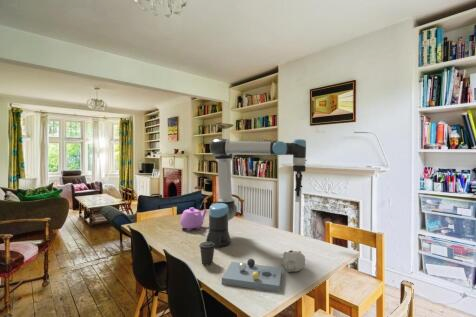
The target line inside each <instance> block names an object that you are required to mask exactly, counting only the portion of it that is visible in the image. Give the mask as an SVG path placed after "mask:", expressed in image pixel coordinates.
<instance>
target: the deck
mask: <svg viewBox="0 0 476 317" xmlns="http://www.w3.org/2000/svg"><path fill="white" fill-rule="evenodd" d="M240 263H241V262H240V261H239V262H238V261H231V262H230V264H229V266H228V267H227V268H226V271H225V272H224V273H223V275H222V277H221V285H229V286H236V287H241V288H248V289H257V290H263V291H269V292H270V291H271V292H278V293H279V292H280V289H281V281H282V274H283V268H282V267H281V266H280V267H279V266H271V265H263V264H256V263H255V264H254V266H252V267H250V266H248V264H247V262H245V263H244V262H243V263H244V264H245V265H246V270H245V271H243V272H242V271H240V270H239V269H238V266H239V264H240ZM253 272H258V274H259V278H258V279H257V280H254V279H253V278H252V274H253Z"/></svg>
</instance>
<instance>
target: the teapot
mask: <svg viewBox="0 0 476 317" xmlns="http://www.w3.org/2000/svg"><path fill="white" fill-rule="evenodd" d="M207 210H208V209H203V211H202V212H201V211H200V209H198V208H197V209H196V208H195V207H189V209H188V208H187V209H185V210H183V212H182V214H181V216H180V222H179V223H180V225H181V227H182V228H183V229H186V231H187V232H190V231H192V229H196V230H201V227H202V226H203V224H204V220H205V217H206V214H207Z"/></svg>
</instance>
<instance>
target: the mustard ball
mask: <svg viewBox="0 0 476 317" xmlns="http://www.w3.org/2000/svg"><path fill="white" fill-rule="evenodd" d="M252 278H253V279H254V280H257V279H258V278H259V274H258V272H253V274H252Z"/></svg>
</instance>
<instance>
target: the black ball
mask: <svg viewBox="0 0 476 317" xmlns="http://www.w3.org/2000/svg"><path fill="white" fill-rule="evenodd" d="M246 263H247V264H248V266H250V267H252V266H254V264H256V261H255V259H253V258H249V259H247V262H246Z"/></svg>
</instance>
